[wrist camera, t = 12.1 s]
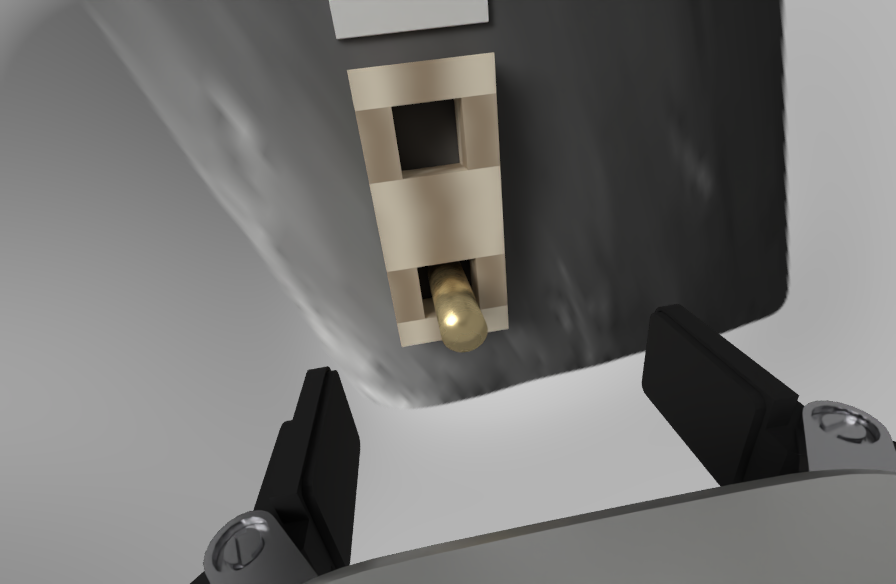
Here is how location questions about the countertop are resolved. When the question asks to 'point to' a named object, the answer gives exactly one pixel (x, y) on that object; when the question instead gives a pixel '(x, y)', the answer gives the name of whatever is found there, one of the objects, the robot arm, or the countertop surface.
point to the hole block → (436, 187)
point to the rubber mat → (403, 15)
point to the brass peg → (456, 307)
